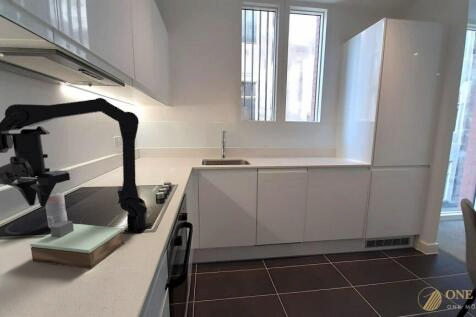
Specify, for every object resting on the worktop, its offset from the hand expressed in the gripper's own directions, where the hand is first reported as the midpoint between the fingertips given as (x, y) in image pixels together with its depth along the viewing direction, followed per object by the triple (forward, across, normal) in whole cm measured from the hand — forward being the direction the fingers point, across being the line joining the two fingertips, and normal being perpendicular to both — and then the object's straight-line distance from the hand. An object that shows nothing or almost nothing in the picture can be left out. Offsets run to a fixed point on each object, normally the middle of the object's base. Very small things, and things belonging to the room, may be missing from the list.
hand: (37, 205), depth 63 cm
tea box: (+13, +13, 0) cm, 18 cm away
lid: (+9, +13, 0) cm, 16 cm away
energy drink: (+13, -10, +13) cm, 21 cm away
